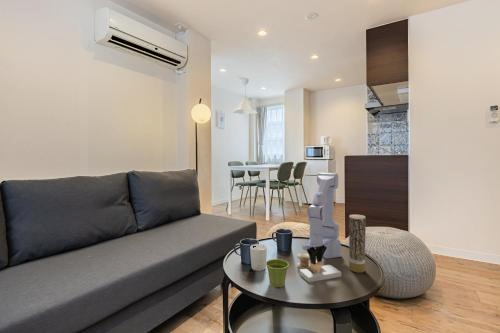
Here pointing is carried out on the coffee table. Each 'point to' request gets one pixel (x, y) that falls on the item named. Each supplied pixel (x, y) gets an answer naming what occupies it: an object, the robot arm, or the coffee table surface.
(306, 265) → the bobbin
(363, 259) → the bark textured cylinder
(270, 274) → the plant pot
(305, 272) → the board
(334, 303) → the coffee table surface
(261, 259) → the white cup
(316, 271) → the block
